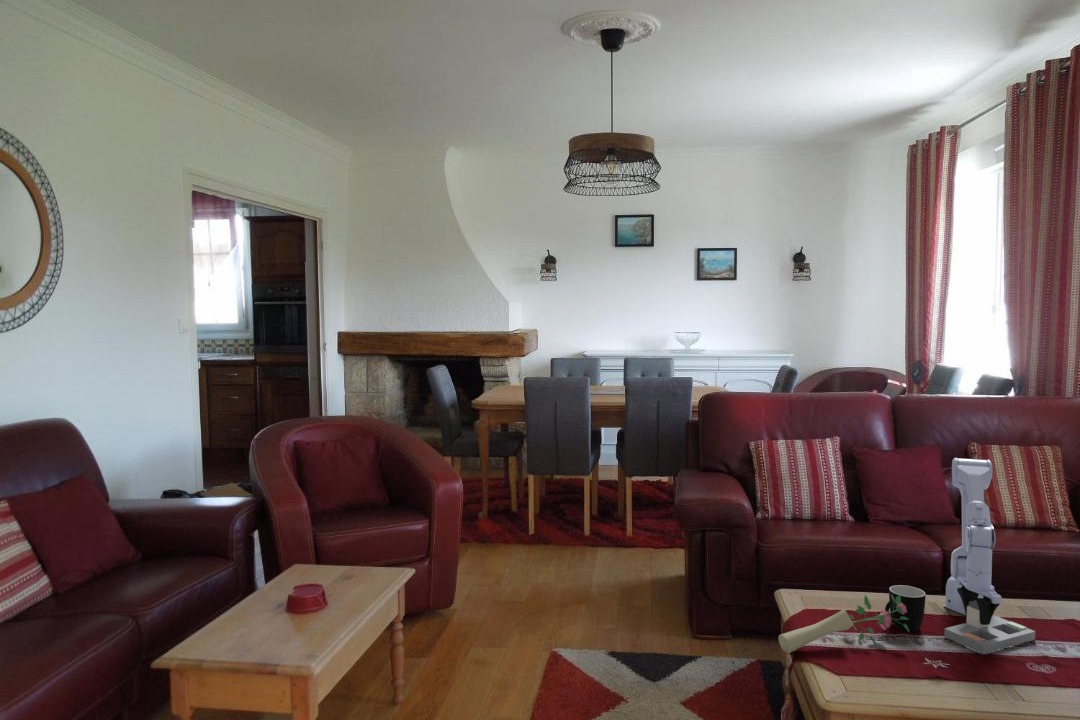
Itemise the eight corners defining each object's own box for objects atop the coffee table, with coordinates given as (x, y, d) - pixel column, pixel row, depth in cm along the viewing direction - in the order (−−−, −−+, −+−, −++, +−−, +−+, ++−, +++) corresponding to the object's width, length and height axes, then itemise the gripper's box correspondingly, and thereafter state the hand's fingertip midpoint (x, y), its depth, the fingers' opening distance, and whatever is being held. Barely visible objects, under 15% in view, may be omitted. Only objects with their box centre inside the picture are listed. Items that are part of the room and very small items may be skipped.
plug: (966, 623, 199) (967, 601, 198) (975, 621, 200) (976, 599, 200) (979, 628, 196) (979, 606, 195) (988, 626, 197) (988, 604, 197)
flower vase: (783, 674, 192) (892, 628, 201) (809, 682, 180) (923, 634, 189) (768, 628, 194) (876, 585, 203) (792, 634, 182) (906, 588, 191)
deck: (944, 637, 196) (944, 626, 196) (994, 624, 204) (995, 614, 204) (983, 654, 186) (983, 643, 186) (1035, 640, 194) (1035, 629, 194)
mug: (905, 618, 209) (906, 583, 208) (932, 630, 200) (933, 594, 200) (872, 624, 204) (873, 589, 204) (898, 637, 196) (899, 600, 195)
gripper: (1012, 579, 190) (1011, 630, 191) (974, 560, 205) (972, 608, 205) (987, 580, 189) (985, 631, 190) (950, 561, 204) (949, 609, 205)
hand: (977, 619), depth 198 cm, fingers open, 5 cm apart
